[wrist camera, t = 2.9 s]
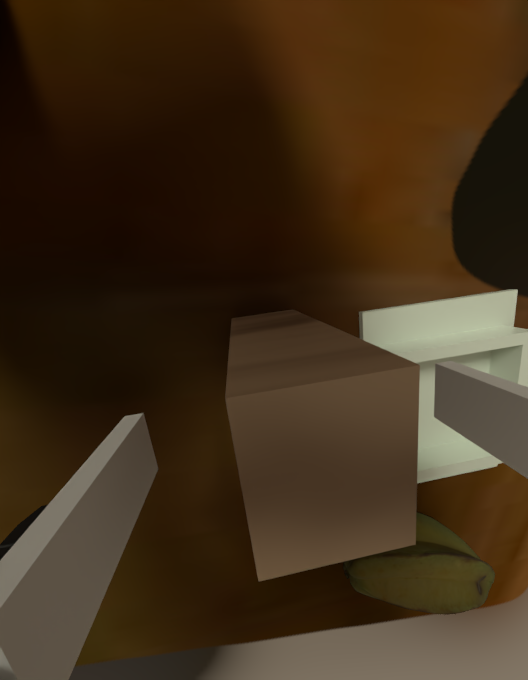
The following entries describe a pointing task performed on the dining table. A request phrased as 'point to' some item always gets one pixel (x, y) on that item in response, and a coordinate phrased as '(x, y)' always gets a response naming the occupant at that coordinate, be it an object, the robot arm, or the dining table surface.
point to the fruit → (425, 572)
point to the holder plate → (458, 346)
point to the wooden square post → (321, 442)
